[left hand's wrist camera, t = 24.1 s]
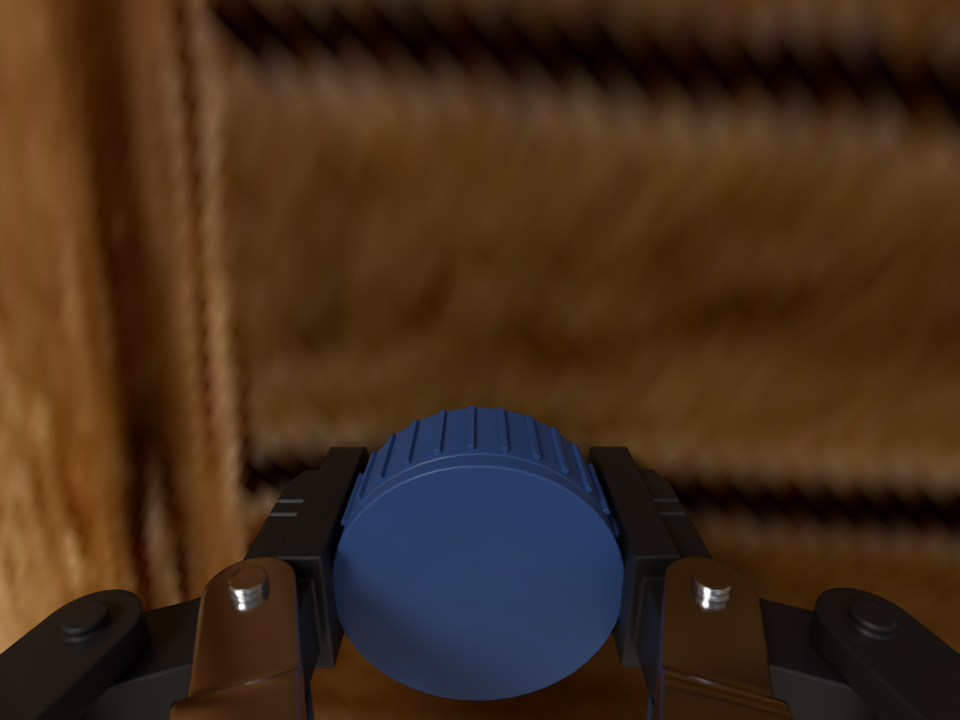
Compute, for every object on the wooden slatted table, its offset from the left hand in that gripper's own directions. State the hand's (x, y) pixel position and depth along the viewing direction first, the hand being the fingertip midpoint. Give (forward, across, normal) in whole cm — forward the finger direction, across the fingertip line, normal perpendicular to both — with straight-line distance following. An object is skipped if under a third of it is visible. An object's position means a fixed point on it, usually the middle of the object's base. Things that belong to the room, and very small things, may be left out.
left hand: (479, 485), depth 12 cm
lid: (-3, 0, 0) cm, 3 cm away
